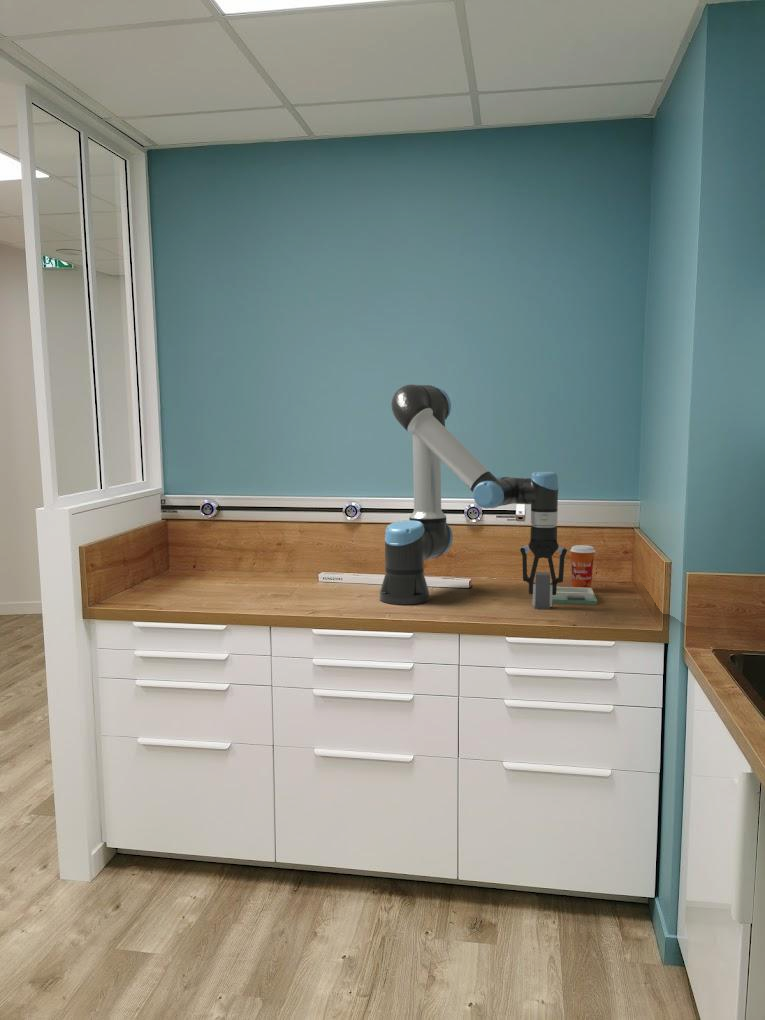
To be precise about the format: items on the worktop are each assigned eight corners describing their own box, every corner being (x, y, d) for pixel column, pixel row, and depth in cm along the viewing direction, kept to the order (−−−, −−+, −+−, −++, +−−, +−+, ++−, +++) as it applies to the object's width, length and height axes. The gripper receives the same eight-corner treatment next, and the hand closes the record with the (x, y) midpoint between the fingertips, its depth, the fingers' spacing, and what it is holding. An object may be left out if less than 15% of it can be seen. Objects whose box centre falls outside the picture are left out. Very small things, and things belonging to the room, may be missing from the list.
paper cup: (566, 591, 259) (567, 547, 257) (572, 586, 265) (573, 544, 264) (591, 593, 255) (592, 549, 253) (596, 589, 262) (598, 545, 260)
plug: (535, 608, 235) (536, 574, 234) (535, 605, 240) (535, 571, 239) (549, 609, 235) (550, 575, 233) (548, 605, 239) (549, 572, 238)
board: (534, 602, 243) (535, 593, 243) (534, 592, 257) (534, 584, 257) (597, 604, 240) (597, 595, 240) (593, 594, 254) (593, 585, 254)
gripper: (513, 526, 232) (512, 607, 235) (575, 528, 229) (573, 609, 232) (514, 523, 239) (512, 601, 242) (573, 524, 236) (571, 603, 239)
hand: (542, 605), depth 237 cm, fingers closed on plug, 4 cm apart
